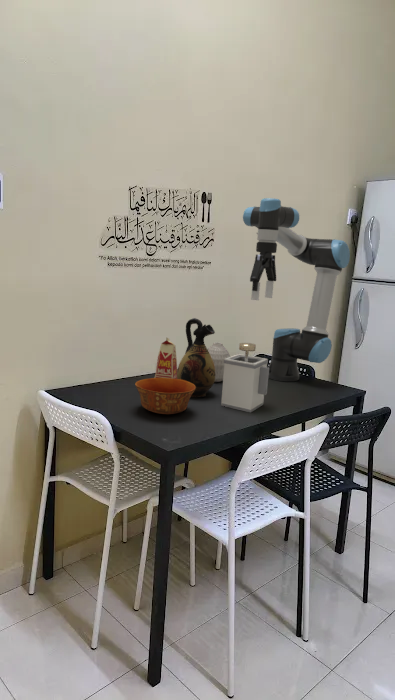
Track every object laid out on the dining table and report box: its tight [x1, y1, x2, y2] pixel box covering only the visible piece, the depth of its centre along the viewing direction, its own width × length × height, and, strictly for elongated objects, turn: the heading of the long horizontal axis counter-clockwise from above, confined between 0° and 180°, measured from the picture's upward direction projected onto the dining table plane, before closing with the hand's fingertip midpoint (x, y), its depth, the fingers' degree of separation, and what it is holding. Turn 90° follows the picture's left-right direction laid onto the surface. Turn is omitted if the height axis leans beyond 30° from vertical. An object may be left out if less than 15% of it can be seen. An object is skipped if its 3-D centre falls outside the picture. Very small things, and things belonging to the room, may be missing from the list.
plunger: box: [238, 342, 257, 362], centre depth 193 cm, size 9×9×22 cm
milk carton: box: [153, 337, 178, 379], centre depth 218 cm, size 9×9×20 cm
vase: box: [207, 341, 231, 383], centre depth 228 cm, size 13×13×17 cm
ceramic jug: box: [177, 317, 216, 398], centre depth 204 cm, size 17×15×30 cm
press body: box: [220, 353, 269, 413], centre depth 193 cm, size 12×15×18 cm
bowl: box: [134, 377, 196, 415], centre depth 182 cm, size 21×21×10 cm
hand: (261, 298), depth 196 cm, fingers open, 13 cm apart
